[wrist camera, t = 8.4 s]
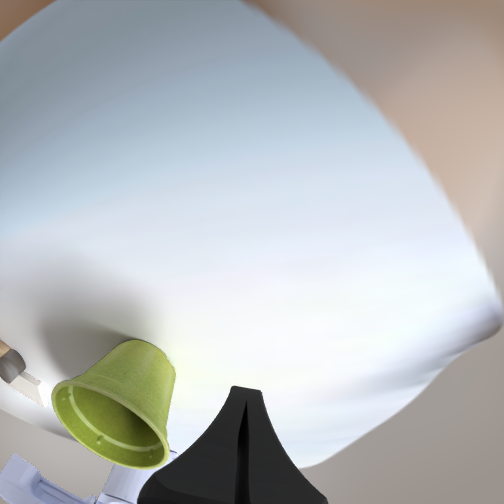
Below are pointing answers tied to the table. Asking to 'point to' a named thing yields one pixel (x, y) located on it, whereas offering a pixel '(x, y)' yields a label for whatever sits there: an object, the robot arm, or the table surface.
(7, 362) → the oak arm
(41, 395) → the mounting plate
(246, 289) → the table surface
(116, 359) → the plant pot
